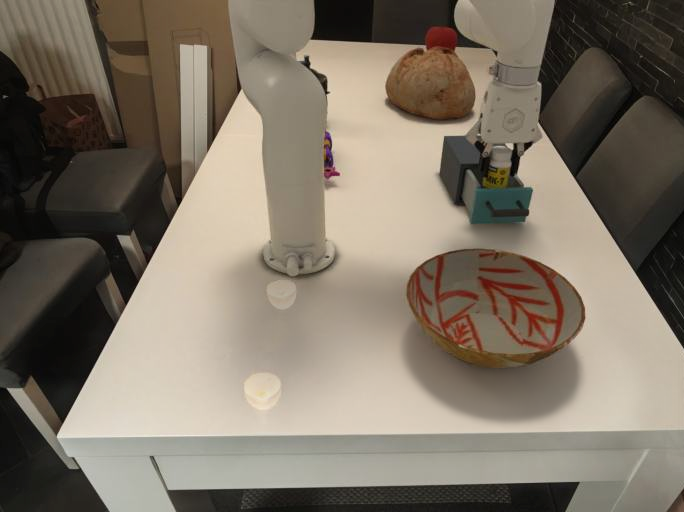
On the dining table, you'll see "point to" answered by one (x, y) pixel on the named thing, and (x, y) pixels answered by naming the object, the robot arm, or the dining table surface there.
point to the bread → (431, 84)
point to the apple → (441, 38)
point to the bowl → (494, 307)
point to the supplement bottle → (498, 168)
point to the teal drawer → (495, 199)
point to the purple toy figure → (328, 157)
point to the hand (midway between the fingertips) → (496, 173)
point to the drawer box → (458, 163)
